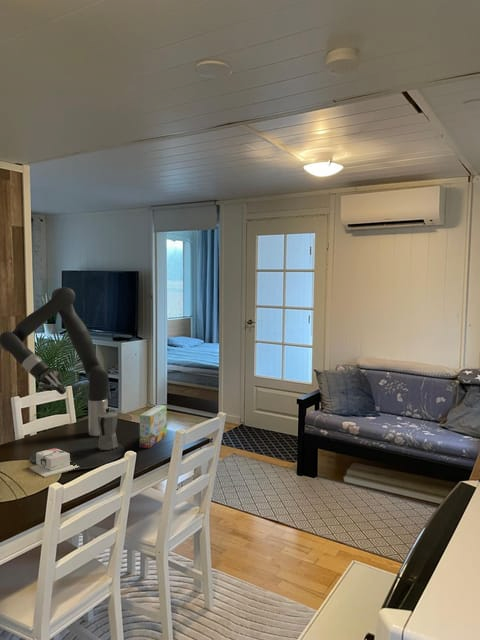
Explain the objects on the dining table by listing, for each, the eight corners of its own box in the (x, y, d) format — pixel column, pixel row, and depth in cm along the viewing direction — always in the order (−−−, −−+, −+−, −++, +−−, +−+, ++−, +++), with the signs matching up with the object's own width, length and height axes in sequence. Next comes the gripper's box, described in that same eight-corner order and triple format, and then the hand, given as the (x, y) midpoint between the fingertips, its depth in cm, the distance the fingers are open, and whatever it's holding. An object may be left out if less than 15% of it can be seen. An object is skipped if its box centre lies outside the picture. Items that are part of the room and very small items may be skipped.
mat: (63, 459, 195) (63, 458, 195) (79, 467, 186) (79, 466, 186) (29, 468, 185) (29, 466, 185) (44, 477, 176) (44, 476, 176)
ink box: (55, 447, 194) (70, 453, 187) (55, 458, 195) (70, 465, 187) (35, 452, 188) (50, 458, 180) (35, 464, 188) (50, 471, 180)
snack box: (150, 448, 209) (150, 415, 209) (139, 448, 211) (138, 415, 210) (167, 435, 230) (167, 404, 229) (156, 434, 231) (156, 404, 231)
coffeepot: (102, 443, 217) (101, 404, 216) (122, 443, 217) (121, 405, 216) (91, 454, 202) (90, 413, 201) (112, 454, 202) (112, 413, 201)
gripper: (26, 369, 199) (55, 397, 198) (49, 354, 209) (77, 380, 209) (21, 378, 203) (51, 405, 203) (44, 363, 214) (72, 388, 214)
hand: (64, 392), depth 206 cm, fingers closed
